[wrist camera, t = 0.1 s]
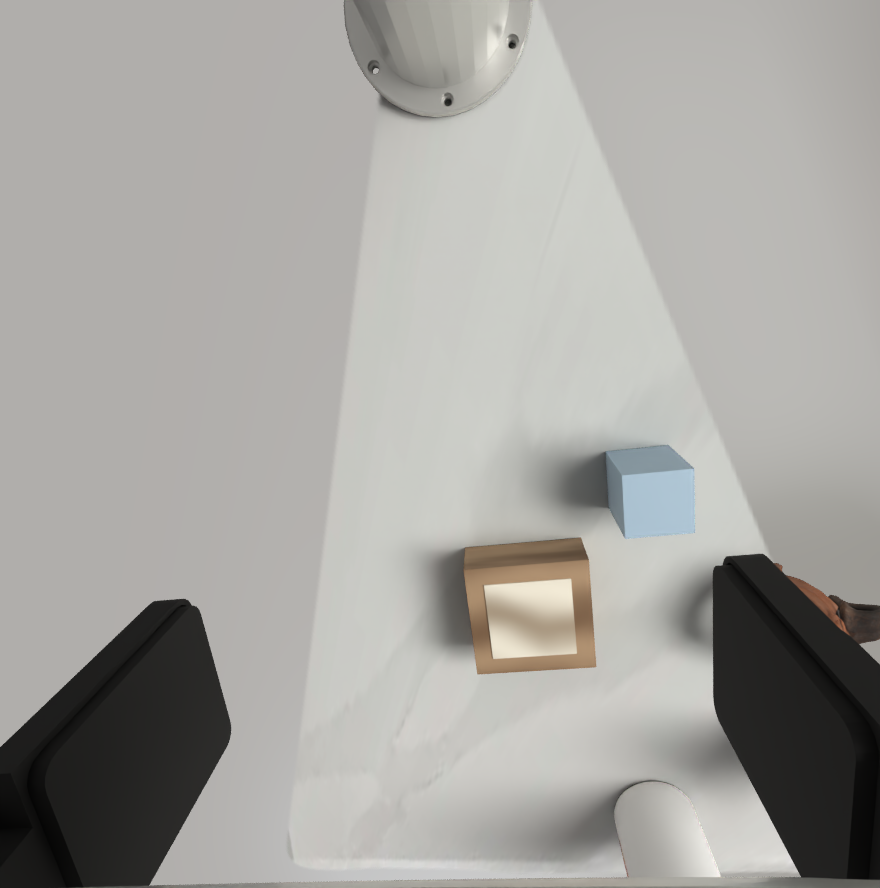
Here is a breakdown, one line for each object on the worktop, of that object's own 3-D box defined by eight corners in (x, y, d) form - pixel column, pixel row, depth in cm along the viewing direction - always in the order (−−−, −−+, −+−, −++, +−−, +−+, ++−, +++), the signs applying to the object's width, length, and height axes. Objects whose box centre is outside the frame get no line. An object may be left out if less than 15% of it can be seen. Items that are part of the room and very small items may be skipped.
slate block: (605, 451, 47) (621, 475, 41) (668, 444, 46) (694, 468, 40) (608, 507, 48) (625, 538, 42) (669, 502, 47) (695, 532, 42)
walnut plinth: (465, 547, 50) (463, 570, 46) (580, 537, 49) (588, 560, 45) (478, 645, 53) (477, 675, 49) (588, 638, 51) (596, 667, 48)
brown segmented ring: (744, 672, 52) (744, 702, 45) (709, 569, 54) (704, 581, 46) (902, 652, 47) (931, 682, 39) (857, 539, 49) (877, 548, 41)
